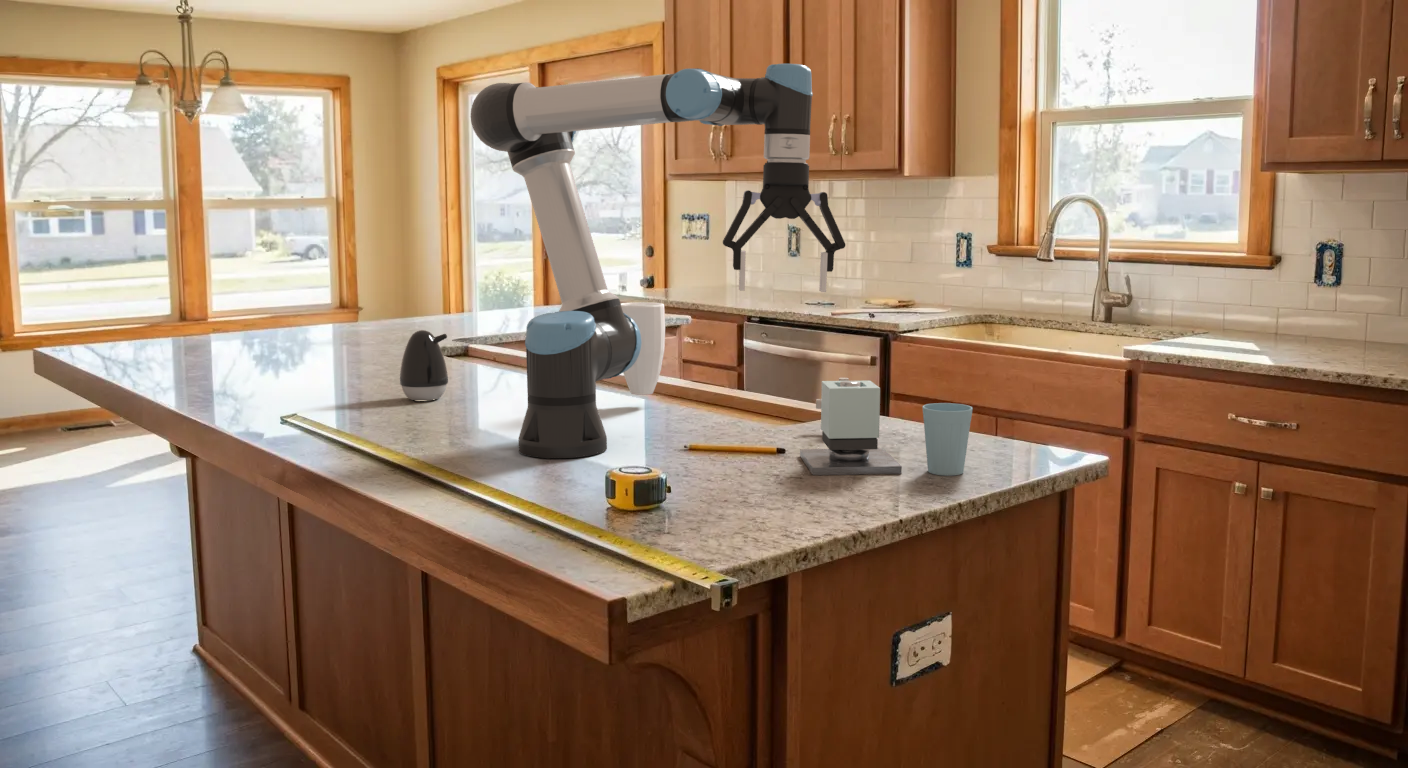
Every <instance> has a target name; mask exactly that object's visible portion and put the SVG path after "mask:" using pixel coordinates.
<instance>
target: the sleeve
mask: <svg viewBox="0 0 1408 768" xmlns="http://www.w3.org/2000/svg"><path fill="white" fill-rule="evenodd" d="M857 381H858V382H860V387H840V382H842V381H839V380H822V381H821V398H820V399H821V409H820V411H821V412H820V429H821V431H823V432H824V433H825V434H826V436H827V437H828V438H829V439H836V438H877V439H880V419H881V418H880V417H881V415H880V414H881V412H880V411H881V405H880V404H881V387H879V386H878V385H877V384H875V382H873V381H872V380H857Z"/></svg>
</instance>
